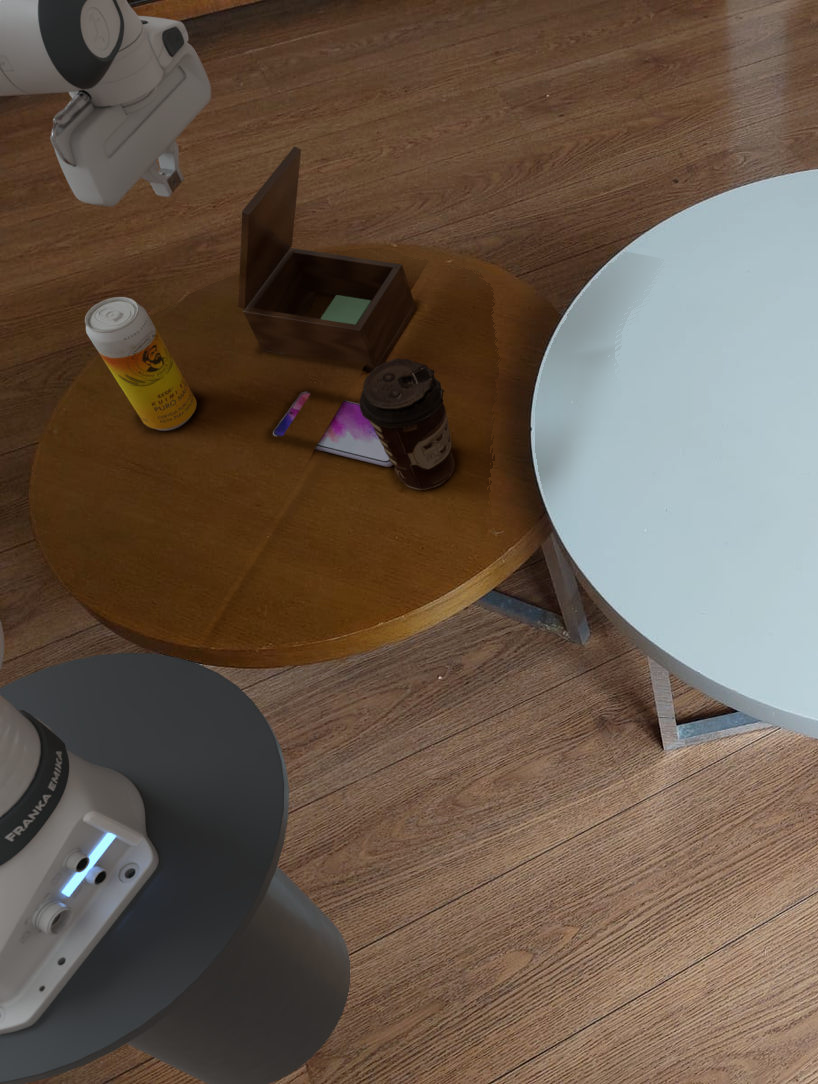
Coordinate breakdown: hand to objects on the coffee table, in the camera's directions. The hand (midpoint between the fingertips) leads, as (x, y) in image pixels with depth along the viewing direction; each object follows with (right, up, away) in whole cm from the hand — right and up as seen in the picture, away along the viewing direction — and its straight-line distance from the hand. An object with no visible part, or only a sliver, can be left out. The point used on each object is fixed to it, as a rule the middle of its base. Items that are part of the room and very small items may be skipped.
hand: (171, 188), depth 116 cm
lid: (+8, -3, +6) cm, 11 cm away
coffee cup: (+26, -29, +4) cm, 40 cm away
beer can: (-5, -23, +10) cm, 25 cm away
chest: (+12, -12, +17) cm, 24 cm away
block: (+17, -12, +13) cm, 24 cm away
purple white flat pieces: (+16, -25, +7) cm, 31 cm away
